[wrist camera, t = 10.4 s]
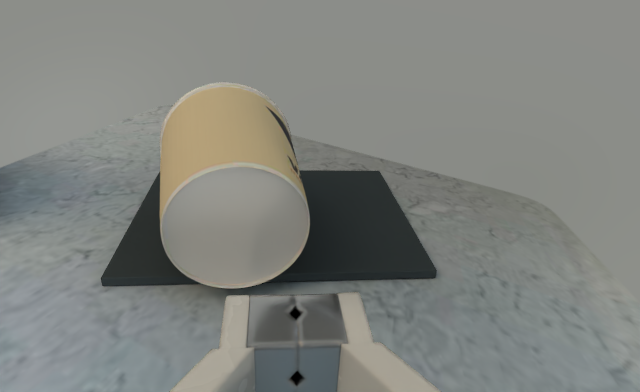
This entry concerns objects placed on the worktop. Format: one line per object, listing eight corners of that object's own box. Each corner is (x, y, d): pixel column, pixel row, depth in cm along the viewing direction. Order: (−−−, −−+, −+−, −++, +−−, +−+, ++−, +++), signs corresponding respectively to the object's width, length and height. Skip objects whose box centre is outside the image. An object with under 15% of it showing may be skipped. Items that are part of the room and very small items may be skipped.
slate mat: (378, 176, 42) (379, 170, 42) (435, 278, 28) (437, 270, 28) (161, 175, 40) (160, 169, 40) (102, 286, 26) (100, 277, 25)
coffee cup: (341, 156, 22) (297, 87, 32) (140, 141, 19) (161, 71, 30) (310, 299, 26) (280, 198, 36) (142, 302, 24) (159, 193, 34)
